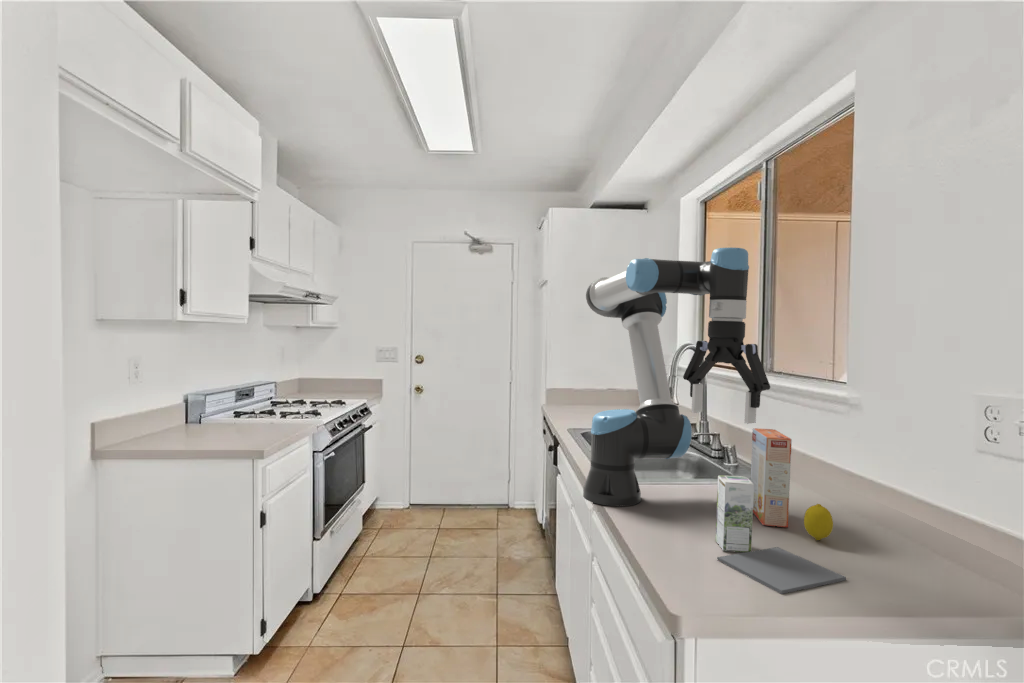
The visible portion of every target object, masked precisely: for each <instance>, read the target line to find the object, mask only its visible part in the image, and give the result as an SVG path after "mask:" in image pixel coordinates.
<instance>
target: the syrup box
mask: <svg viewBox="0 0 1024 683" xmlns="http://www.w3.org/2000/svg"><path fill="white" fill-rule="evenodd" d="M716 492H717V495H716V522H715V542H716V543H717V544H719V545H718V546H719V548H720V547H721V548H722V549H721V548H720V549H721V550H722V552H729V551H735V552H734V553H744V552H750V551H752V543H753V542H752V540H753V516H754V515H753V514H754V513H753V499H754V484H753V483H752V482H751V479H750V478H748V477H747V476H740V475H739V476H738V475H720V474H719V475H718V476H717V491H716Z"/></svg>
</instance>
